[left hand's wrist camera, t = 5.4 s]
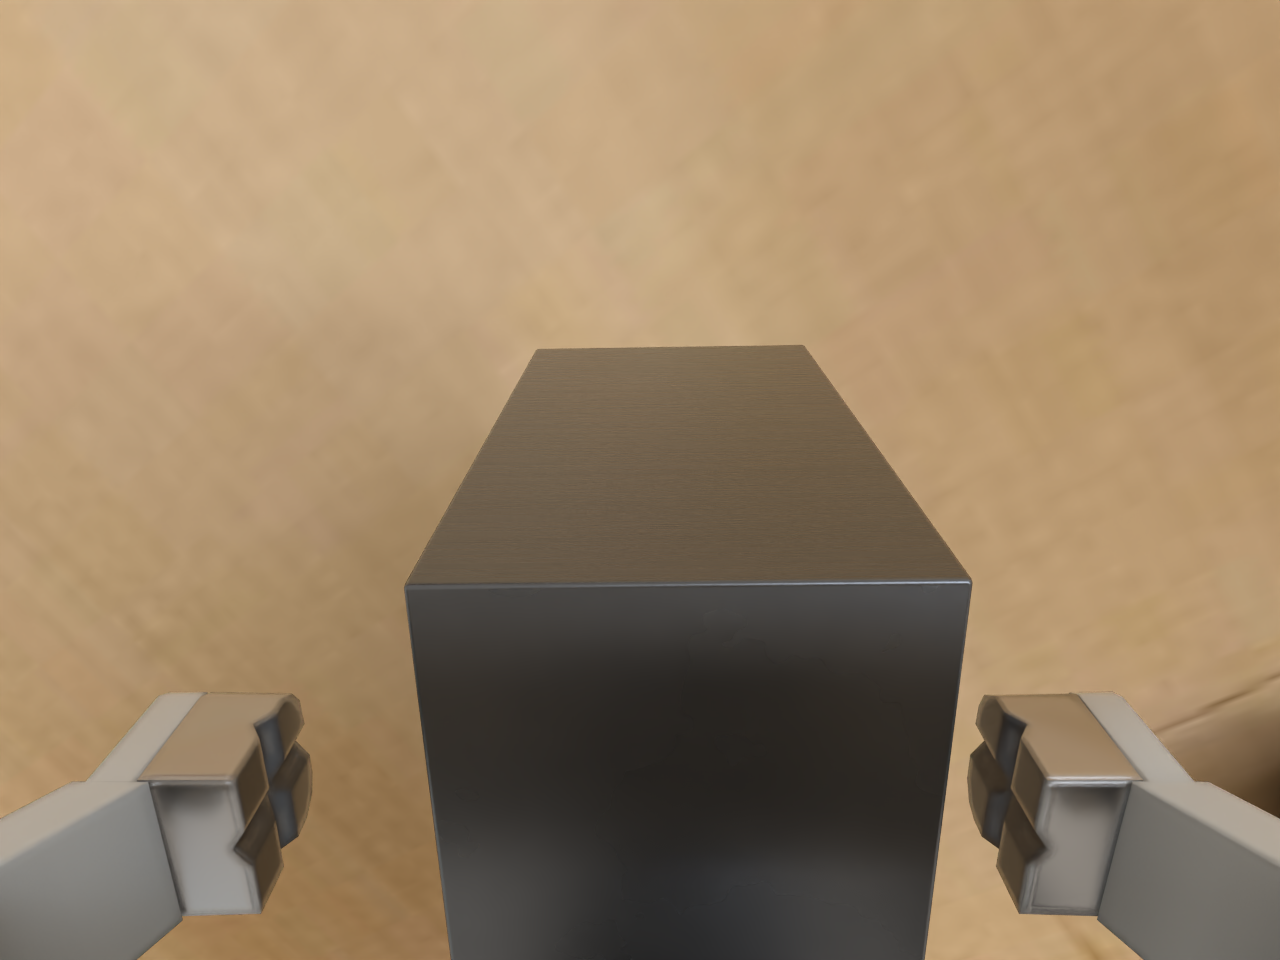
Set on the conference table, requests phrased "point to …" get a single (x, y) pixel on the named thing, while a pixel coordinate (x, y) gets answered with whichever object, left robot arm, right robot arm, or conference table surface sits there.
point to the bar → (685, 670)
